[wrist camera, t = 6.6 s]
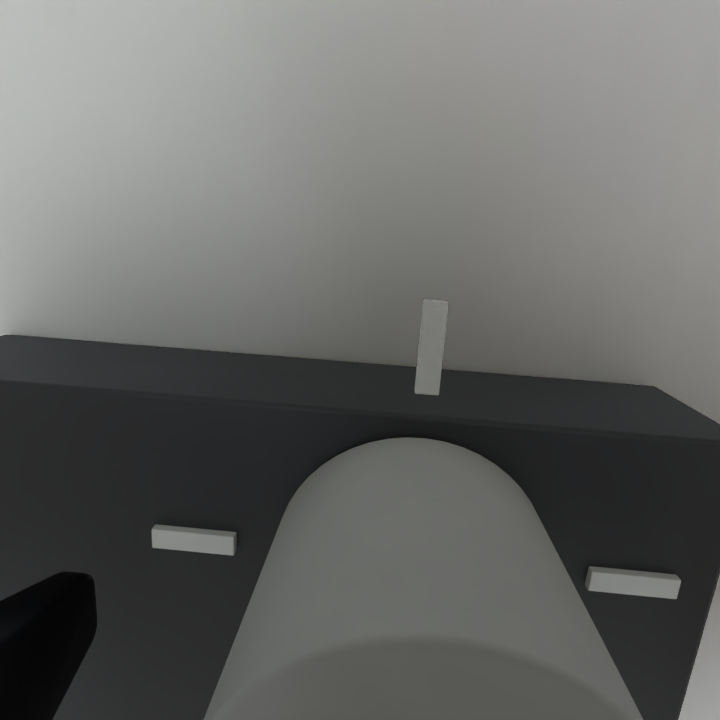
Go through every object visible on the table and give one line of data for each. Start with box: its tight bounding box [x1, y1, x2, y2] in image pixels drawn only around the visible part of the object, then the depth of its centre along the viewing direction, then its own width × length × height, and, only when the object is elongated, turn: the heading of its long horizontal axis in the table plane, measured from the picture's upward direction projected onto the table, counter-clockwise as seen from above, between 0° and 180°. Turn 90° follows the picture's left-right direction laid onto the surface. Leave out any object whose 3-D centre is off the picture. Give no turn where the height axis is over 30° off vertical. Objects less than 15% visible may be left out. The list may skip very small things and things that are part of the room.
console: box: [0, 299, 720, 720], centre depth 11 cm, size 14×16×3 cm
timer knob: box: [204, 437, 643, 720], centre depth 6 cm, size 4×4×4 cm
